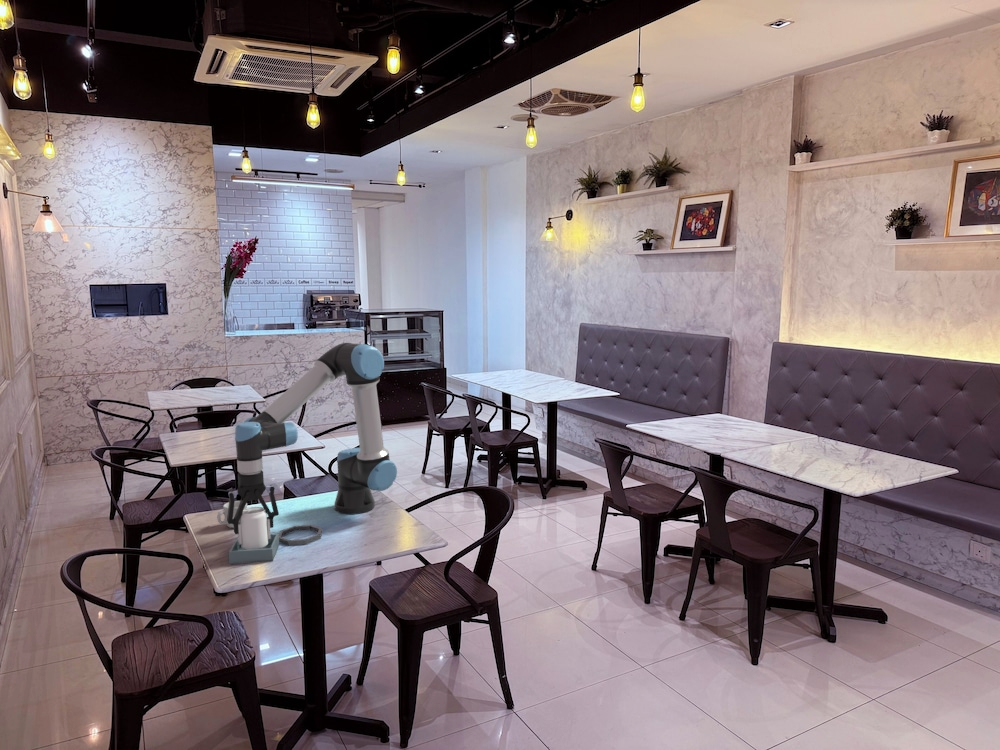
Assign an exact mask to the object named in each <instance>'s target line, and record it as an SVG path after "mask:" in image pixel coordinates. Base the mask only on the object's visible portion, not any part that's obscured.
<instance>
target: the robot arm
mask: <svg viewBox="0 0 1000 750" xmlns="http://www.w3.org/2000/svg"><path fill="white" fill-rule="evenodd" d="M313 365H314V366H313V367H312V368H310V369H309V370H308V371H307V372H306V373H305V374H304V375H302V377H300V378H299V379H298V380H297V381H296V382H295V383H294V384H292V385H291V386H290V387H289V388H288V389H286V391H284V393H282V394H281V395H280V396H279V397H278V398H276V399H275V400H274V401H273V402H272V403H271V404H270V405H269V406H267V407H266V408H265V409H264V410H263V411H261V412H260V413H259V414H258V415H257V416H251V417H248V418H247V419H245V420H244V422H240V423H238V424H237V425H236V426H235V429H234V433H235V434H234V441H235V449H236V464H237V467H236V468H237V472H238V473H237V480H238V481H237V485H238V486H237V489H236V490H233V491H232V490H230V491H228V492H227V493H228V494H227V496H228V497H229V499H228V500H229V501H228V502H229V507H228V515H227V522H228V524H233V525H234V528H233V532H234V535H237V537H238V542H239V544H242V535H241V524H240V522H239V520H240V517H241V515H242V512H243V510H244V507H245V505H246V503H247V504H248V502H251V501H259V502H260V504H261V507H262V508H264V509H265V511H266V513H267V531H268V539H271V534H272V533H271V529H273V528H274V518H275V517H277V516H279V515H280V513H279V509H278V505H277V500H276V497H275V490H276V489H275V486H274V485H273V484H270V485H265V480H264V471H263V470H264V464H263V451H269V450H274V449H278V448H283V447H288V446H292V445H294V444H296V443H297V440H298V437H299V435H298V429H297V427H296V425H295V424H294V423H293V422H286V421H288V419H289V418H290V417H292V415H294V414H295V413H296V412H297V411H298V410H299V409H300V408H301V407H303V405H305V404H306V403H307V402H308V401H309V400H311V398H313V396H315V395H316V394H317V393H318V392H319V391H320V390H321V389H322V388H324V387H325V386H326V385H327V384H328V383H329V382H334V381H335V380H336V379H338V378H339V377H341V376H345V379H346V385H348V386H349V388H351V391H352V398H353V407H354V414H355V421H356V422H355V423H356V429H357V436H358V437H357V438H358V444H359V447H353V448H352V447H351V448H347V449H343V450H341V451H339V452H338V453H337V459H336V464H337V480H338V481H337V482H338V490H337V494H336V497H335V500H334V510H335V511H336V512H337V513H340V514H346V515H348V514H349V515H357V514H361V513H366V512H367V513H368V512H370V511H371V510H373V509H374V508H375V507H376V505H375V502H376V501H375V498H374V495H373V492H372V491H376V492H383V491H385V490H388V489H389V488H390V487H392V485H393V483H394V482H395V481H396V479H397V476H398V468H397V466H396V464H395V463H394V462H393V461H392V460H390V453H389V450H388V449H387V448H385V446H384V439H383V437H384V436H383V427H382V421H381V412H380V405H379V397H378V396H379V395H378V389H377V384H378V383H379V382H380V379H381V377H380V376H381V375H382V373H383V370H384V368H385V360H384V356H383V354H382V352H381V351H380V350H379V349H378V348H377V347H375V346H374V345H373V346H372V345H369V344H366V343H364V344H363V343H352V342H342V343H339V344H337V345H334V346H333V347H331V348H330V349H329V350H327V351H326V352H325V353H323V354H322V355H321V356H319V358H317V359H316V360H315V361H314V364H313ZM265 491H266V492H267V493H268V495H269V500H270V503H271V507H272V512H271V509H270V508H269V506H268V505H267V503H266V502H265V500H264V497H263V496H262V495H263V494H264V492H265ZM237 495H239V496H240V497H241V499H240V500H239V501H240V504H239V507H238V509H237V512H236V514H235V517H234V519H233V511H234V503H235V501H236V500H235V499H236V498H237Z"/></svg>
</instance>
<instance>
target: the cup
mask: <svg viewBox="0 0 1000 750" xmlns="http://www.w3.org/2000/svg"><path fill="white" fill-rule="evenodd" d="M240 501H241V500H235V503H234V511H233V519H234V517H235V514H236V512H237V509H238V507H239V504H240ZM228 507H229V501H228V502H226V503H224V504H223V507H222V510H221V511H219V512H218V514H217V517H216V518H217V522H218V523H219V524H221V525H226V526H227V527H228V528H230V529H234V525H233V524H228V522H227V515H228ZM246 508H248V502H247V503H246V505H245V507H244V509H246ZM222 515H223V516H224V519H223V521H222V520H221V517H222ZM239 522H240V520H239Z"/></svg>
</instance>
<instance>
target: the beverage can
mask: <svg viewBox="0 0 1000 750" xmlns="http://www.w3.org/2000/svg"><path fill="white" fill-rule="evenodd" d="M267 517H268V515H267V513H266V511H265V509H264V508H263V506H254V507H252V506H251V507H247V508H246V509H244V510H243V512H242V515H241V517H240V524H241V535H242V544H241V547H242V548H243V549H246V550H252V549H262V548H263V547H265V546H267V544H268V531H267Z"/></svg>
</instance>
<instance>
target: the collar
mask: <svg viewBox="0 0 1000 750" xmlns="http://www.w3.org/2000/svg"><path fill="white" fill-rule="evenodd" d="M299 531H300V532H301V531H311V532H314V533H317V534H315V535H312V536H310V537H307V538H302V539H301V538H300V539H288V538H286V537H284V536H285V535H288V534H291V533H293V532H299ZM278 534H279V544H284V545H286V546H301V545H302V546H304V545H308V544H312V543H314V542H316V541H319V540H321V538H322V535H323V528H322V527H319V526H316V525H314V524H306V525H305V524H302V525H292V526H291V527H287V528H285V529H283V530H280V531H279V533H278Z"/></svg>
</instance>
